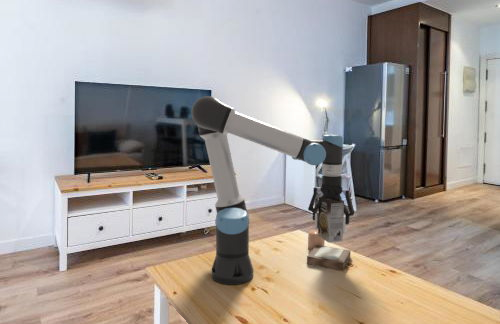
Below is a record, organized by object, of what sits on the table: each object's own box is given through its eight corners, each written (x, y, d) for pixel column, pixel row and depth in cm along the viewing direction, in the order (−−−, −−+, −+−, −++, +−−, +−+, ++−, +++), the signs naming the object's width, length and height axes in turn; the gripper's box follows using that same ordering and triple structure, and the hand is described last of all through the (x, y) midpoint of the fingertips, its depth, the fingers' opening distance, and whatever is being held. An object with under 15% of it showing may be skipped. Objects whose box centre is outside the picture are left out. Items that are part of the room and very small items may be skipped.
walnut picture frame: (306, 263, 139) (307, 255, 139) (316, 251, 152) (316, 244, 151) (343, 270, 133) (343, 262, 133) (350, 257, 146) (350, 249, 145)
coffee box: (317, 235, 145) (318, 196, 143) (331, 234, 146) (332, 195, 145) (328, 243, 136) (329, 201, 134) (343, 241, 138) (344, 200, 136)
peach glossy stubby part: (305, 249, 154) (306, 234, 153) (310, 244, 160) (310, 229, 160) (321, 252, 151) (322, 236, 150) (325, 246, 157) (326, 231, 157)
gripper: (300, 174, 140) (299, 229, 142) (360, 178, 130) (358, 237, 133) (306, 171, 146) (305, 224, 149) (364, 175, 136) (361, 231, 139)
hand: (330, 230), depth 141 cm, fingers closed on coffee box, 10 cm apart
